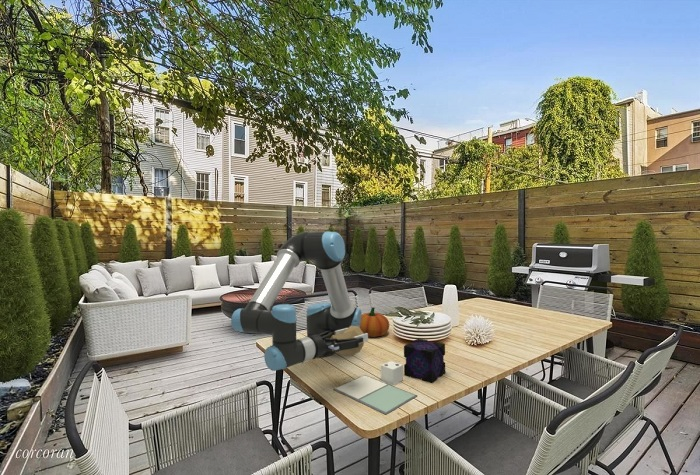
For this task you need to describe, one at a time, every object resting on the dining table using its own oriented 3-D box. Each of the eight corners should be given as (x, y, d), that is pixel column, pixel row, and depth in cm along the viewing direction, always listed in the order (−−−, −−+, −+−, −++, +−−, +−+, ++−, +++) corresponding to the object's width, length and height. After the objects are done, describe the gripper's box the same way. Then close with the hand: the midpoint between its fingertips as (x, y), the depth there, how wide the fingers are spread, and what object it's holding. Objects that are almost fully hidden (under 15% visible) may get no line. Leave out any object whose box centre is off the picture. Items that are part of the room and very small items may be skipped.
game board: (333, 389, 125) (333, 388, 125) (365, 375, 137) (365, 374, 137) (385, 414, 107) (385, 413, 107) (417, 396, 119) (417, 395, 119)
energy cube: (418, 366, 146) (418, 338, 146) (445, 373, 138) (445, 343, 138) (404, 375, 137) (403, 345, 137) (432, 383, 129) (431, 352, 129)
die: (380, 380, 133) (380, 364, 132) (390, 375, 137) (390, 360, 137) (393, 385, 128) (392, 369, 128) (402, 380, 132) (402, 364, 132)
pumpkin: (349, 332, 198) (349, 306, 198) (378, 327, 206) (378, 302, 206) (365, 341, 180) (364, 313, 180) (396, 336, 188) (395, 309, 188)
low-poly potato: (368, 347, 134) (344, 332, 139) (374, 327, 129) (349, 312, 134) (347, 371, 123) (322, 354, 128) (352, 349, 117) (326, 332, 122)
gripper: (291, 351, 123) (338, 337, 139) (331, 368, 107) (379, 351, 122) (291, 330, 123) (338, 319, 139) (330, 344, 107) (379, 330, 122)
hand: (357, 334), depth 130 cm, fingers closed on low-poly potato, 10 cm apart
